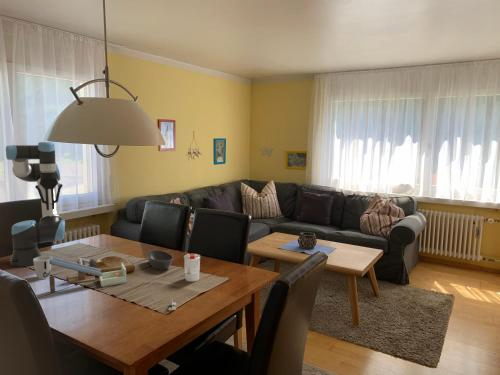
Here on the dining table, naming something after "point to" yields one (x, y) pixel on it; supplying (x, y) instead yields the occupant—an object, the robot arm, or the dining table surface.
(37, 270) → the cup
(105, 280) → the box
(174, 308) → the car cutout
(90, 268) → the lever
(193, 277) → the white can
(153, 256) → the bowl
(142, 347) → the dining table surface
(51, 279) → the stand
